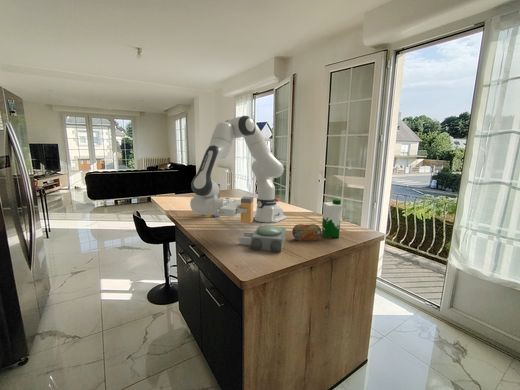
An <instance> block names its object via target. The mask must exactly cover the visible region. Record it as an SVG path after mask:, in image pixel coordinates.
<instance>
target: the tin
mask: <svg viewBox="0 0 520 390" xmlns="http://www.w3.org/2000/svg"><path fill="white" fill-rule="evenodd" d="M291 232H292V233H291V234H292V236H293V238H294V239H295V240H297V241H300V242H302V240H308V241H317V240H319V239H320V238H321V236H322V227H320V226H319V225H318V224H316V223H315V224H314V223H298V224H296V225H294V226H293V228H292V231H291Z"/></svg>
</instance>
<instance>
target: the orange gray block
mask: <svg viewBox="0 0 520 390" xmlns="http://www.w3.org/2000/svg"><path fill="white" fill-rule="evenodd" d="M240 200H241V208H242V209H244V208H247V209H248V211H247V212H246V213H240V223H241V224H252V223H253V221H254V196H243V197H240Z"/></svg>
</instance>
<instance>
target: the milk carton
mask: <svg viewBox="0 0 520 390" xmlns="http://www.w3.org/2000/svg"><path fill="white" fill-rule="evenodd" d="M341 202H342V201H341V199H337V198H335V199H332V202H331V201H328V202H326V201H325V202H323V204H322V205H323V206H322V207H323V210H322V224H321V231H322V233H321V235H322V236H323V237H325V238H326V237H339V238H340V229H341V219H342V218H341V217H342V210H343V205H342V203H341Z"/></svg>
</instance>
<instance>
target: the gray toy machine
mask: <svg viewBox="0 0 520 390" xmlns="http://www.w3.org/2000/svg"><path fill="white" fill-rule="evenodd" d="M286 230H287V228H286V227H280V226H277V225H270V224H269V225H267V224H266V225H261V224H260V225H258V226H257V228H256V229H255V231H243V236H239V239H238V240H239V245H243V246H244V245H245V246H250V247H251V248H250V249H251V250H254V251H267V252H274V253H281V252H282V251H283V247H284V244H285V240H286V232H287V231H286Z"/></svg>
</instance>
